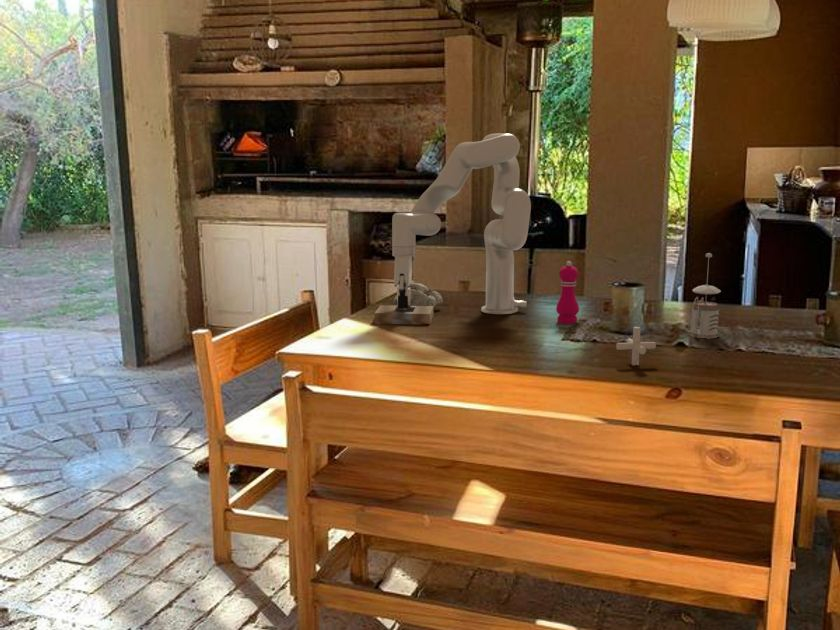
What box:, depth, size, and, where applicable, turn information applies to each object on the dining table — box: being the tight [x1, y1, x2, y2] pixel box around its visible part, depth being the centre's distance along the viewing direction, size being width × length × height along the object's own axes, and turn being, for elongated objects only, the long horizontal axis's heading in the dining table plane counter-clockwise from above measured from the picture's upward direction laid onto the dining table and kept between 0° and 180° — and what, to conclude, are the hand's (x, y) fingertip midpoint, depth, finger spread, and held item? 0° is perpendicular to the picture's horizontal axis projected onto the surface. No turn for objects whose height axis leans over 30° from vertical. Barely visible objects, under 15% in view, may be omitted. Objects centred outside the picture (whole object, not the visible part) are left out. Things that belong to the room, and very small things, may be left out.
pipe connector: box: [615, 326, 657, 366], centre depth 217 cm, size 10×10×10 cm
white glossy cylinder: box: [396, 286, 411, 310], centre depth 272 cm, size 4×4×7 cm
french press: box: [689, 252, 722, 335], centre depth 247 cm, size 10×12×25 cm
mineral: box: [393, 282, 444, 307], centre depth 291 cm, size 12×17×10 cm
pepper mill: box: [555, 260, 580, 325], centre depth 267 cm, size 7×7×20 cm
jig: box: [374, 304, 435, 325], centre depth 273 cm, size 18×13×4 cm
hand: (403, 305), depth 272 cm, fingers closed on white glossy cylinder, 4 cm apart
